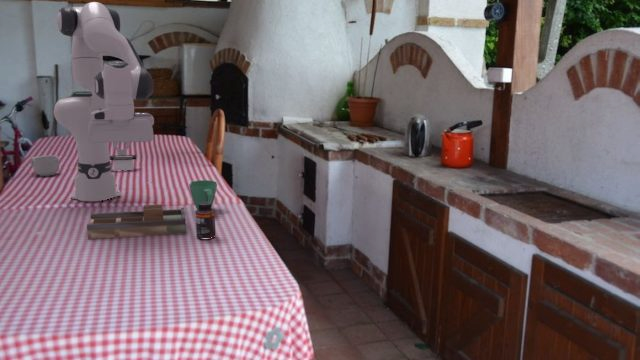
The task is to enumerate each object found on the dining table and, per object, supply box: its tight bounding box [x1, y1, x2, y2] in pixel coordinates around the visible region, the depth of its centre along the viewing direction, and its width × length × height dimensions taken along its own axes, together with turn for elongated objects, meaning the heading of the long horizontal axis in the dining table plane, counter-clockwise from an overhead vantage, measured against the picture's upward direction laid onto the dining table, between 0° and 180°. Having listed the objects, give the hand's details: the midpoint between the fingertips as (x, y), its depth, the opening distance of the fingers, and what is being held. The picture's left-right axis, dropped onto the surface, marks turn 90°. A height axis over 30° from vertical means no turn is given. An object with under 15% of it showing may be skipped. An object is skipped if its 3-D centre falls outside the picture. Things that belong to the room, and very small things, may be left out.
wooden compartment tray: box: [86, 207, 187, 240], centre depth 207 cm, size 13×30×5 cm, turn 104°
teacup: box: [29, 154, 60, 177], centre depth 283 cm, size 14×11×8 cm
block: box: [143, 203, 164, 221], centre depth 207 cm, size 6×6×4 cm
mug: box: [189, 179, 218, 211], centre depth 229 cm, size 15×10×10 cm
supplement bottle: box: [195, 202, 216, 239], centre depth 200 cm, size 6×6×11 cm
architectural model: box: [109, 154, 137, 172], centre depth 294 cm, size 20×25×10 cm
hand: (122, 155), depth 205 cm, fingers closed
